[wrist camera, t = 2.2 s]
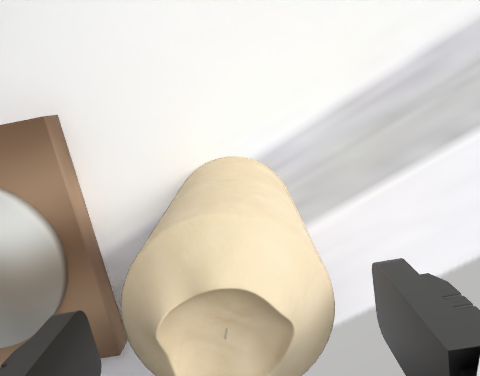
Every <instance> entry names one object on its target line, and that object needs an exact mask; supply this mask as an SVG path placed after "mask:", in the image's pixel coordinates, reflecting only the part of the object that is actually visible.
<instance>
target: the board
mask: <svg viewBox="0 0 480 376" xmlns="http://www.w3.org/2000/svg"><path fill="white" fill-rule="evenodd" d="M79 310H80V311H83V312H84V313H85V314H86V316H87V318H88V321H89V324H90V327H91V330H92V334H93V337H94V340H95V343H96V346H97V349H98V353H99V356H100V358H105V357H111V356H117V355H120V354H121V352H122V350H123V348H124V345H125V343H126V341H127V337H126V334H125V331H124V327H123V324H122V321H121V318H120V314H119V311H118V308H117V305H116V302H115V298H114V295H113V292H112V289H111V286H110V282H109V279H108V276H107V273H106V269H105V266H104V263H103V260H102V257H101V253H100V250H99V247H98V244H97V240H96V237H95V234H94V231H93V228H92V224H91V221H90V218H89V215H88V212H87V208H86V205H85V202H84V199H83V195H82V192H81V189H80V186H79V183H78V179H77V176H76V173H75V170H74V167H73V163H72V160H71V157H70V154H69V150H68V147H67V144H66V141H65V138H64V134H63V131H62V128H61V125H60V122H59V118H58V115H53V116H44V117H39V118H34V119H29V120H24V121H19V122H14V123H9V124H4V125H0V368H1V365H2V364H3V362H4V361H5V360H6V359H7V358H8V357H9V356H10V355H11V354H12V353H13V352H14V351H15V350H16V349H17V348H19V347H20V346H21V345H23V344H24V343H25V342H27V341H28V340H30V339H31V338H32V337H33V335H34V334H35V333H36V332H37V331H38V330H39V329H40V328H41V327H42V326H43V324H44V323H45V322H46V321H47V320H48V319H49V318H50V317H51V316H52V315H55V314H61V313H67V312H73V311H79Z"/></svg>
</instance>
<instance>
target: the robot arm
mask: <svg viewBox="0 0 480 376" xmlns="http://www.w3.org/2000/svg"><path fill="white" fill-rule="evenodd" d="M372 276H373V285H374V294H375V303H376V311H377V318H378V323H379V327H380V330H381V333H382V335H383V337H384V339H385V341H386V343H387V344H388V346H389V348H390V349H391V351H392V353H393V355H394V356H395V358H396V360H397V361H398V363H399V365H400V367H401V368H402V370H403V371H404V373H405V375H406V376H480V310H479V309H478V308H477V307H475V306H473V304H472V303H471V302H470V301H469V300H468V299H467V298H466V297H464V296H462V295H461V293H460V292H459V291H457V290H456V289H455V288H454V287H453V286H452V285H451V284H450V283H449V282H447V281H445V280H442V279H440V278H438V277H436V276H433V275H431V274H429V273H427V274H421V275H419V274H418V273H417V272H416V271H415V270H414V269H413V268H412V267H411V266H410V265H409V264H408V263H407V262H406V261H405V260H404V259H402V258H400V259H394V260H387V261H381V262H375V263H373V265H372ZM100 374H101V360H100V356H99V353H98V349H97V346H96V343H95V340H94V337H93V334H92V330H91V327H90V324H89V321H88V318H87V316H86V314H85V313H84V312H83V311H80V310H79V311H73V312H67V313H61V314H55V315H52V316H51V317H50V318H49V319H48V320H47V321H46V322H45V323H44V324H43V326H42V327H41V328H40V329H39V330H38V331H37V332H36V333H35V334H34V335H33V337H32V338H31V339H30V340H28V341H27V342H25V343H24V344H23V345H21V346H20V347H19V348H17V349H16V350H15V351H14V352H13V353H12V354H11V355H10V356H9V357H8V358H7V359H6V360H5V361H4V362H3V364H2V365H1V368H0V376H100Z"/></svg>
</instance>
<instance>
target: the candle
mask: <svg viewBox="0 0 480 376" xmlns="http://www.w3.org/2000/svg"><path fill="white" fill-rule="evenodd" d="M121 314H122V322H123V326H124V329H125V333H126V336H127V338H128V340H129V343H130V345H131V347H132V348H133V350H134V352H135V353H136V355H137V356H138V358H139V359H140V360H141V361H142V363H143V364H144V365H145V366H146V367H147V368H148V369H149V370H150V371H151V372H152V373H153V374H154V375H155V376H302V375H303V374H304V373H305V372H307V371H308V370H309V368H310V367H311V366H312V365H313V364H314V363H315V362H316V360H317V359H318V358H319V356H320V355H321V353H322V351H323V350H324V348H325V346H326V344H327V342H328V340H329V337H330V334H331V331H332V327H333V322H334V315H335V301H334V292H333V289H332V285H331V281H330V278H329V276H328V274H327V271H326V269H325V267H324V265H323V262H322V260H321V258H320V256H319V254H318V252H317V250H316V248H315V246H314V244H313V242H312V240H311V238H310V236H309V234H308V231H307V229H306V227H305V225H304V223H303V221H302V219H301V217H300V215H299V213H298V211H297V209H296V207H295V205H294V203H293V201H292V198H291V196H290V194H289V192H288V190H287V189H286V187H285V185H284V184H283V182H282V181H281V179H280V178H279V177H278V176H277V175H276V174H275V173H274V172H273V171H272V170H271V169H270V168H268V167H267V166H265V165H263V164H262V163H260V162H258V161H255V160H252V159H248V158H244V157H224V158H219V159H215V160H212V161H210V162H208V163H206V164H204V165H202V166H201V167H199V168H198V169H197V170H196V171H194V172H193V173H192V174H191V175H190V176H189V178H188V179H187V180H186V181H185V183H184V184H183V186H182V187H181V189H180V190H179V192H178V193H177V195H176V196H175V198H174V199H173V201H172V203H171V204H170V206H169V207H168V209H167V210H166V212H165V213H164V215H163V216H162V218H161V219H160V221H159V223H158V224H157V226H156V227H155V229H154V230H153V232H152V233H151V235H150V236H149V238H148V240H147V241H146V243H145V244H144V246H143V247H142V249H141V250H140V252H139V253H138V255H137V257H136V258H135V260H134V261H133V263H132V265H131V267H130V269H129V271H128V273H127V276H126V279H125V282H124V285H123V291H122V296H121Z"/></svg>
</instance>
